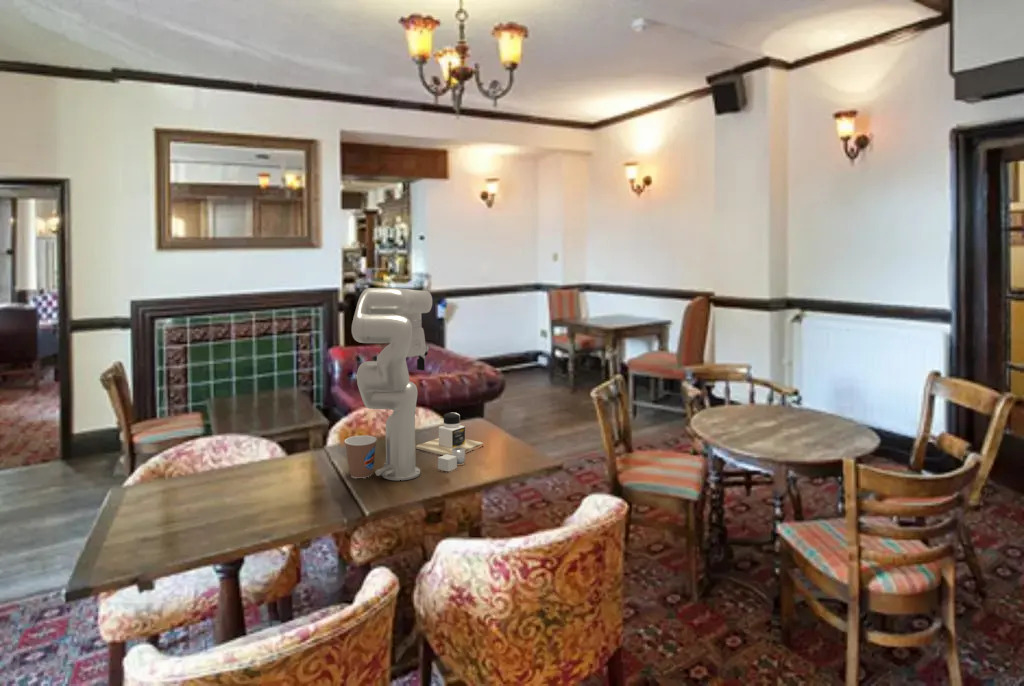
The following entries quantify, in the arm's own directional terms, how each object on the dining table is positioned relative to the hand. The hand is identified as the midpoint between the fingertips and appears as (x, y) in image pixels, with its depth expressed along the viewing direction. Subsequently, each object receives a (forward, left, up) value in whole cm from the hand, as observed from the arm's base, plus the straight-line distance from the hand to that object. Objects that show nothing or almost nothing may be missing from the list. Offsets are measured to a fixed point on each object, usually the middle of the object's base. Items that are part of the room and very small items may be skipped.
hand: (411, 371), depth 231 cm
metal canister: (0, -22, -30) cm, 37 cm away
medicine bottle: (+11, -9, -29) cm, 32 cm away
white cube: (-7, -23, -30) cm, 39 cm away
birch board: (+12, -8, -30) cm, 33 cm away
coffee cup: (-28, -4, -30) cm, 42 cm away
